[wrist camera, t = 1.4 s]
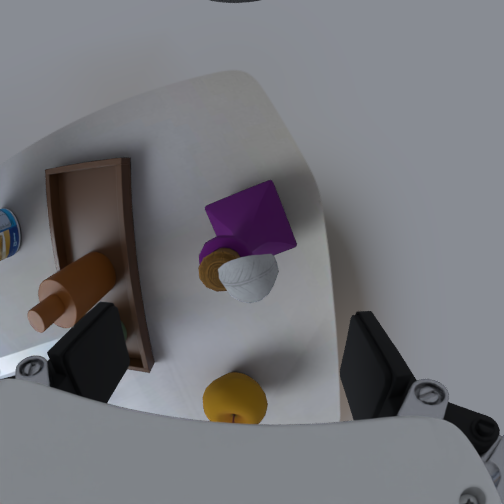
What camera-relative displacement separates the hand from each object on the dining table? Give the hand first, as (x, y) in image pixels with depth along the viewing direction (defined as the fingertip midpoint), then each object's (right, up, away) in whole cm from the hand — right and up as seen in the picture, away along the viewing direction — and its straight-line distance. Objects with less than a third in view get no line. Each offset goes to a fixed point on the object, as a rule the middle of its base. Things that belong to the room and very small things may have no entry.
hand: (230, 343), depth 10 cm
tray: (-20, +1, +25) cm, 32 cm away
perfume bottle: (+1, +7, +22) cm, 23 cm away
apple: (-1, -16, +29) cm, 33 cm away
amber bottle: (-20, +1, +24) cm, 32 cm away
